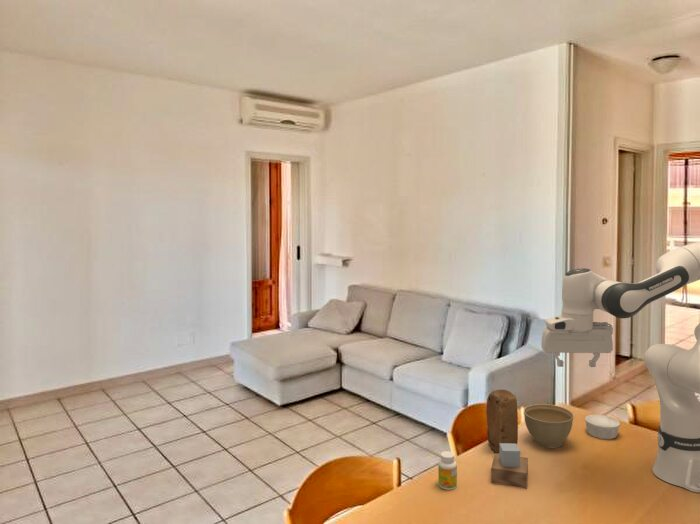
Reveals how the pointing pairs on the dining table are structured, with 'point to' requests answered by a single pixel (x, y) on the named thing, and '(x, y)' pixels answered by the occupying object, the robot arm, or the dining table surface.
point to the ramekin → (602, 426)
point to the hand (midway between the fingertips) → (576, 366)
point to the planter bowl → (548, 424)
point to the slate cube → (509, 455)
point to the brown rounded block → (501, 418)
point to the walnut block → (509, 473)
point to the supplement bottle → (447, 471)
